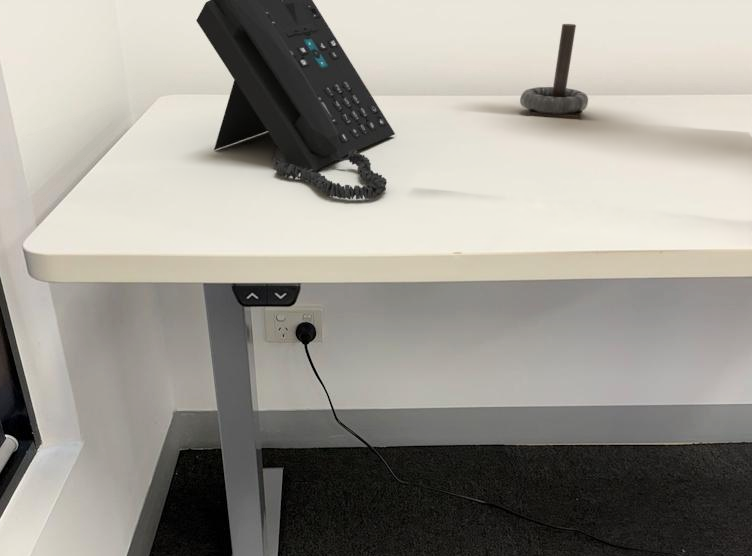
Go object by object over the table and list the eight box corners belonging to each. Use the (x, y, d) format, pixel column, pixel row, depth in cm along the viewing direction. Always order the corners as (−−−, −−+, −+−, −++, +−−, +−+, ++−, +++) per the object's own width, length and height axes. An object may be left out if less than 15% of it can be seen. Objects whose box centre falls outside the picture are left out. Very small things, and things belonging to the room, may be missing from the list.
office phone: (364, 207, 81) (368, -5, 70) (163, 168, 93) (139, -18, 82) (468, 147, 102) (484, -22, 91) (294, 122, 114) (289, -31, 103)
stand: (582, 111, 122) (597, 22, 115) (580, 122, 116) (595, 29, 109) (532, 108, 124) (544, 20, 117) (527, 118, 118) (539, 26, 111)
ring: (587, 103, 123) (590, 88, 121) (585, 117, 114) (588, 100, 113) (523, 99, 125) (525, 84, 124) (516, 112, 117) (518, 96, 115)
